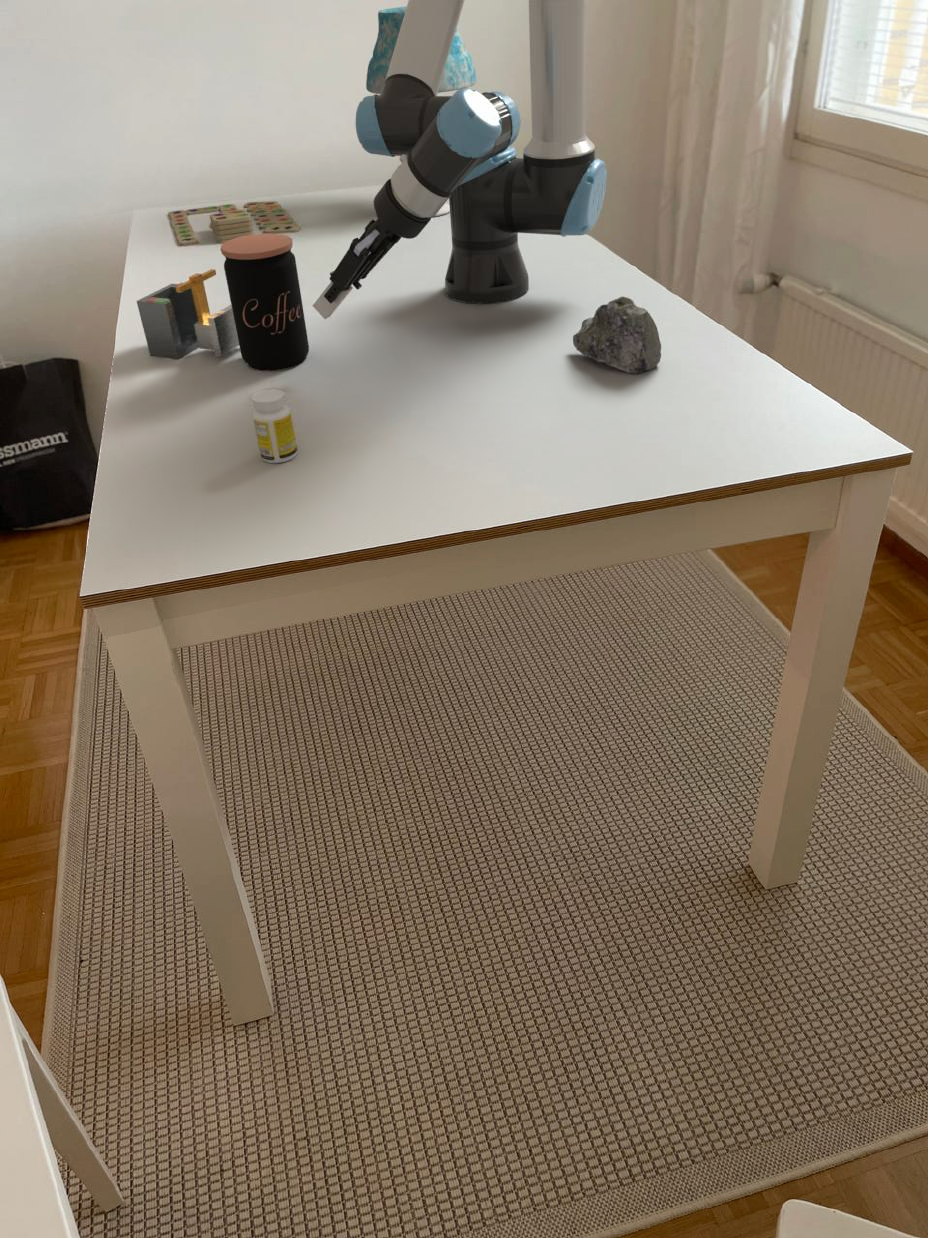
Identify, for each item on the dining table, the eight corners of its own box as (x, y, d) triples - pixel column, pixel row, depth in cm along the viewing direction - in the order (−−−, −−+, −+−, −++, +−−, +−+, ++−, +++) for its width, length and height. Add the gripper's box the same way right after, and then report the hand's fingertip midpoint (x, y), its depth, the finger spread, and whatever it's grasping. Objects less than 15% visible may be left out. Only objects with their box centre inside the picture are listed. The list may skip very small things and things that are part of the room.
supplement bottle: (299, 446, 130) (289, 386, 125) (296, 462, 126) (285, 401, 121) (263, 449, 130) (251, 389, 125) (258, 465, 126) (246, 404, 121)
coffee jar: (246, 376, 151) (222, 257, 140) (240, 353, 159) (217, 238, 149) (315, 366, 153) (296, 247, 142) (305, 343, 161) (287, 229, 151)
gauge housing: (211, 339, 165) (199, 284, 159) (178, 359, 158) (164, 301, 153) (184, 336, 167) (171, 281, 162) (150, 355, 160) (135, 299, 155)
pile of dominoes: (304, 234, 219) (300, 208, 215) (181, 252, 213) (175, 226, 209) (277, 201, 246) (273, 177, 242) (167, 216, 240) (162, 192, 236)
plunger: (252, 336, 161) (239, 268, 155) (219, 357, 155) (204, 287, 148) (224, 333, 163) (210, 266, 157) (190, 353, 157) (174, 284, 150)
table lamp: (369, 207, 233) (347, 9, 209) (464, 194, 238) (454, 0, 214) (393, 231, 214) (373, 17, 191) (496, 216, 219) (489, 6, 196)
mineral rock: (569, 351, 152) (569, 285, 146) (634, 341, 154) (637, 276, 148) (597, 381, 142) (599, 312, 136) (667, 371, 143) (671, 302, 137)
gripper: (413, 165, 136) (326, 279, 151) (368, 186, 126) (279, 305, 142) (450, 207, 137) (359, 316, 152) (408, 231, 127) (316, 344, 143)
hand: (321, 310), depth 147 cm, fingers closed
